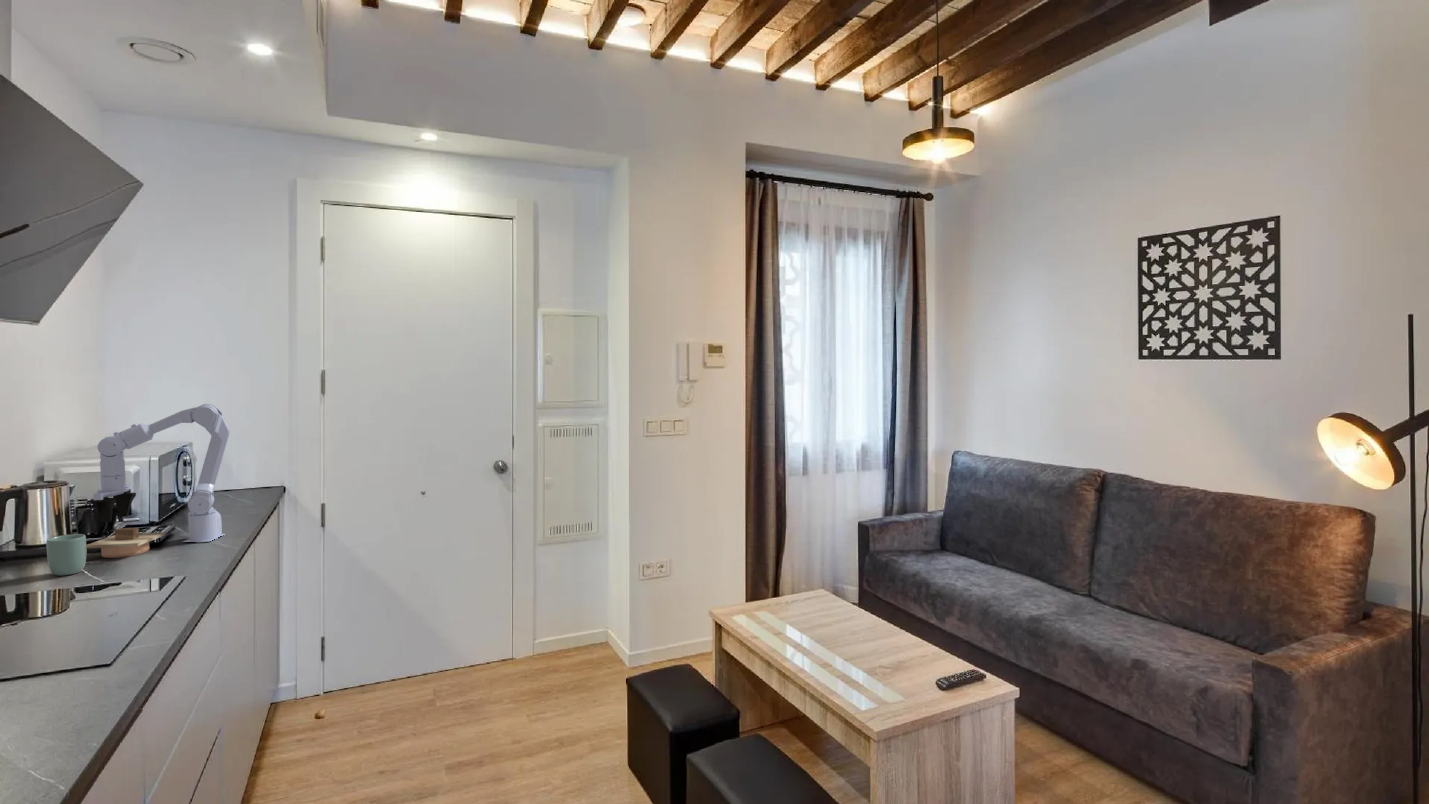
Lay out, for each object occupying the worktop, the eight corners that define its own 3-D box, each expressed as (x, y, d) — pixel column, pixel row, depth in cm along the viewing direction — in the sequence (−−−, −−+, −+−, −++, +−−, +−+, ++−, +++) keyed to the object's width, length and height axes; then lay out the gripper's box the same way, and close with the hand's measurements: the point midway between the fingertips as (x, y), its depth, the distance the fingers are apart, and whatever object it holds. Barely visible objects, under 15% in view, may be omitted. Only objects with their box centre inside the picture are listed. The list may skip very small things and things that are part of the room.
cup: (55, 571, 190) (53, 535, 189) (92, 568, 193) (90, 532, 192) (42, 579, 182) (40, 542, 182) (80, 575, 186) (78, 539, 185)
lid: (116, 536, 214) (116, 524, 214) (165, 535, 216) (165, 523, 216) (85, 548, 201) (84, 535, 200) (137, 546, 203) (137, 533, 203)
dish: (117, 548, 213) (117, 537, 213) (157, 547, 215) (157, 536, 215) (92, 558, 202) (91, 546, 202) (134, 556, 204) (134, 545, 204)
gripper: (114, 472, 218) (116, 514, 218) (80, 479, 203) (83, 525, 204) (139, 471, 219) (141, 513, 220) (108, 478, 205) (110, 524, 205)
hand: (115, 519), depth 212 cm, fingers open, 7 cm apart
